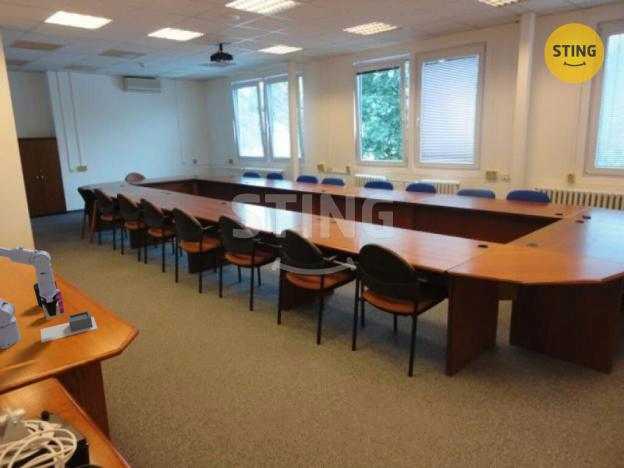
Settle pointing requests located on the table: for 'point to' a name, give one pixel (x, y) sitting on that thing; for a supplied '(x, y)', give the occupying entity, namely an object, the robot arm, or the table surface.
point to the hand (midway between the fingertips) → (52, 313)
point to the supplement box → (58, 303)
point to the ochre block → (53, 316)
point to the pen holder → (39, 293)
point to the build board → (62, 331)
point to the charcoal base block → (80, 321)
